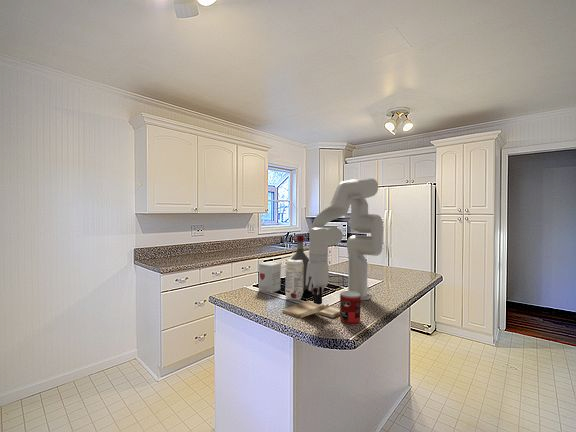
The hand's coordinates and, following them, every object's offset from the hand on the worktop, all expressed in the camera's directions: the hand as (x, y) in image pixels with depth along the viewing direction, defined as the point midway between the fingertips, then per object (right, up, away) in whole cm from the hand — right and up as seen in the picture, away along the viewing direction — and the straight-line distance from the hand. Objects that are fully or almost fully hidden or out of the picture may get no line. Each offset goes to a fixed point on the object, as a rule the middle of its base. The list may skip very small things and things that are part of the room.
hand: (317, 303), depth 117 cm
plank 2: (+6, -6, +7) cm, 11 cm away
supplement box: (-22, -6, +42) cm, 48 cm away
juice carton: (-9, -6, +28) cm, 30 cm away
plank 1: (-1, -4, +1) cm, 4 cm away
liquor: (-5, -6, +47) cm, 47 cm away
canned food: (+13, -7, -1) cm, 15 cm away
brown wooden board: (-5, -6, +11) cm, 14 cm away
